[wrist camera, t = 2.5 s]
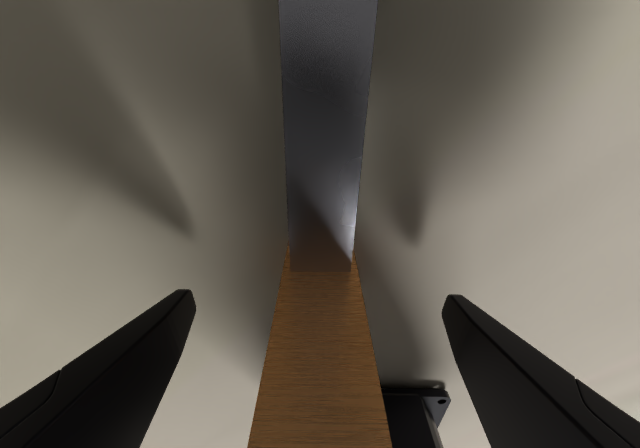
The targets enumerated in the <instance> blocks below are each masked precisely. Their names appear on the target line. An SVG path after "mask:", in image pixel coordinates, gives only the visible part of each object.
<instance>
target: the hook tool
mask: <svg viewBox="0 0 640 448" xmlns="http://www.w3.org/2000/svg"><path fill="white" fill-rule="evenodd" d="M377 5H378V0H279V23H280V46H281V69H282V92H283V115H284V139H285V162H286V185H287V208H288V231H289V242H288V247H287V252H286V257H285V262H284V267H283V272H282V277H281V282H280V287H279V292H278V297H277V302H276V307H275V312H274V317H273V322H272V327H271V332H270V337H269V342H268V347H267V352H266V357H265V362H264V367H263V372H262V377H261V382H260V387H259V392H258V397H257V402H256V407H255V412H254V417H253V422H252V427H251V432H250V437H249V442H248V447H247V448H392V443H391V438H390V433H389V427H388V422H387V417H386V412H385V407H384V402H383V397H382V392H381V387H380V381H379V376H378V371H377V366H376V361H375V356H374V351H373V346H372V341H371V335H370V330H369V325H368V320H367V315H366V310H365V305H364V300H363V295H362V289H361V284H360V279H359V274H358V269H357V264H356V259H355V254H354V248H353V244H354V234H355V224H356V214H357V204H358V194H359V184H360V174H361V164H362V155H363V145H364V135H365V125H366V115H367V105H368V95H369V85H370V75H371V65H372V55H373V45H374V35H375V25H376V15H377Z"/></svg>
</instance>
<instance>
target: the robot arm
mask: <svg viewBox="0 0 640 448" xmlns="http://www.w3.org/2000/svg"><path fill="white" fill-rule="evenodd" d="M195 313H196V304H195V301H194V298H193V294H192V291H191V290H189V289H178V290H176V291H175V292H173V293H172V294H170V295H169V296H167V297H166V298H164V299H163V300H161V301H160V302H158V303H157V304H155V305H154V306H152V307H151V308H149V309H148V310H146V311H145V312H144V313H142V314H141V315H139V316H138V317H136V318H135V319H133V320H132V321H130V322H129V323H127V324H126V325H124V326H123V327H121V328H120V329H118V330H117V331H116V332H114V333H113V334H111V335H110V336H108V337H107V338H105V339H104V340H102V341H101V342H99V343H98V344H96V345H95V346H93V347H92V348H90V349H89V350H87V351H86V352H85V353H83V354H82V355H80V356H79V357H77V358H76V359H74V360H73V361H71V362H70V363H68V364H67V365H65V366H64V367H63V368H62V369H61V370H58V371H56V372H55V373H53V374H52V375H50V376H49V377H48V378H46V379H45V380H43V381H42V382H40V383H39V384H37V385H36V386H34V387H33V388H31V389H29V390H28V391H26V392H25V393H23V394H22V395H20V396H19V397H17V398H16V399H14V400H13V401H11V402H9V403H8V404H6V405H5V406H3V407H1V408H0V448H140V445H141V443H142V441H143V439H144V437H145V434H146V432H147V430H148V428H149V426H150V423H151V421H152V419H153V417H154V415H155V412H156V410H157V408H158V406H159V404H160V401H161V399H162V397H163V395H164V393H165V390H166V388H167V386H168V384H169V381H170V379H171V377H172V375H173V373H174V370H175V368H176V366H177V364H178V362H179V359H180V357H181V354H182V352H183V349H184V346H185V343H186V340H187V337H188V334H189V331H190V328H191V325H192V322H193V319H194V316H195ZM442 319H443V322H444V325H445V329H446V332H447V335H448V339H449V342H450V345H451V349H452V352H453V355H454V358H455V361H456V363H457V366H458V368H459V371H460V373H461V376H462V378H463V381H464V383H465V385H466V388H467V390H468V393H469V395H470V397H471V400H472V402H473V405H474V407H475V409H476V412H477V414H478V417H479V419H480V421H481V424H482V426H483V429H484V431H485V433H486V436H487V438H488V441H489V443H490V445H491V448H640V422H639V421H637V420H636V419H634V418H633V417H631V416H630V415H628V414H627V413H625V412H624V411H622V410H621V409H619V408H618V407H616V406H615V405H613V404H612V403H611V402H609V401H608V400H606V399H605V398H604V397H602V396H601V395H599V394H598V393H596V392H595V391H594V390H592V389H591V388H589V387H588V386H587V385H585V384H584V383H583V382H581V381H580V380H578V379H575V377H574V376H573V375H571V374H570V373H569V372H567V371H566V370H564V369H563V368H562V367H560V366H559V365H557V364H556V363H555V362H553V361H552V360H551V359H549V358H548V357H546V356H545V355H544V354H542V353H541V352H540V351H538V350H537V349H535V348H534V347H533V346H531V345H530V344H528V343H527V342H526V341H524V340H523V339H522V338H520V337H519V336H517V335H516V334H515V333H513V332H512V331H510V330H509V329H508V328H506V327H505V326H504V325H502V324H501V323H499V322H498V321H497V320H495V319H494V318H492V317H491V316H490V315H488V314H487V313H486V312H484V311H483V310H481V309H480V308H479V307H477V306H476V305H474V304H473V303H472V302H470V301H469V300H468V299H466V298H465V297H463V296H462V295H457V294H450V295H448V296H447V298H446V301H445V303H444V306H443V309H442ZM381 392H382V397H383V402H384V407H385V412H386V417H387V422H388V427H389V433H390V438H391V443H392V448H443V445H442V442H441V439H440V436H439V433H438V430H437V428H438V426H439V424H440V422H441V420H442V418H443V416H444V414H445V412H446V410H447V408H448V406H449V404H450V402H451V399H450V397H449V394H448V392H447V391H445V390H437V389H381Z"/></svg>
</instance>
